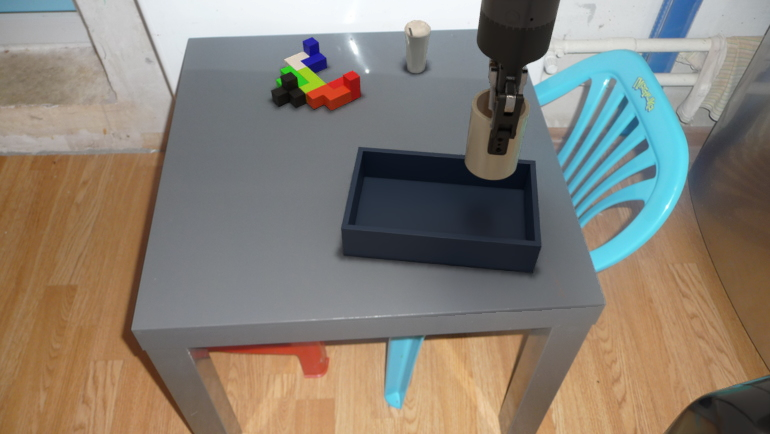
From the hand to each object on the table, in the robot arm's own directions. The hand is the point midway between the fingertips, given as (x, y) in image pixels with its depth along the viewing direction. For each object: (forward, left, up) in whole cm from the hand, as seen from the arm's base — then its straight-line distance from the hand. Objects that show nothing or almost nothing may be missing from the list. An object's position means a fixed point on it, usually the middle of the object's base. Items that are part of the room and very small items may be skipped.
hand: (496, 132), depth 70 cm
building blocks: (+41, -2, -18) cm, 45 cm away
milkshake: (+32, -20, -18) cm, 42 cm away
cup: (0, 0, -5) cm, 5 cm away
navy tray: (+4, +3, -17) cm, 18 cm away
